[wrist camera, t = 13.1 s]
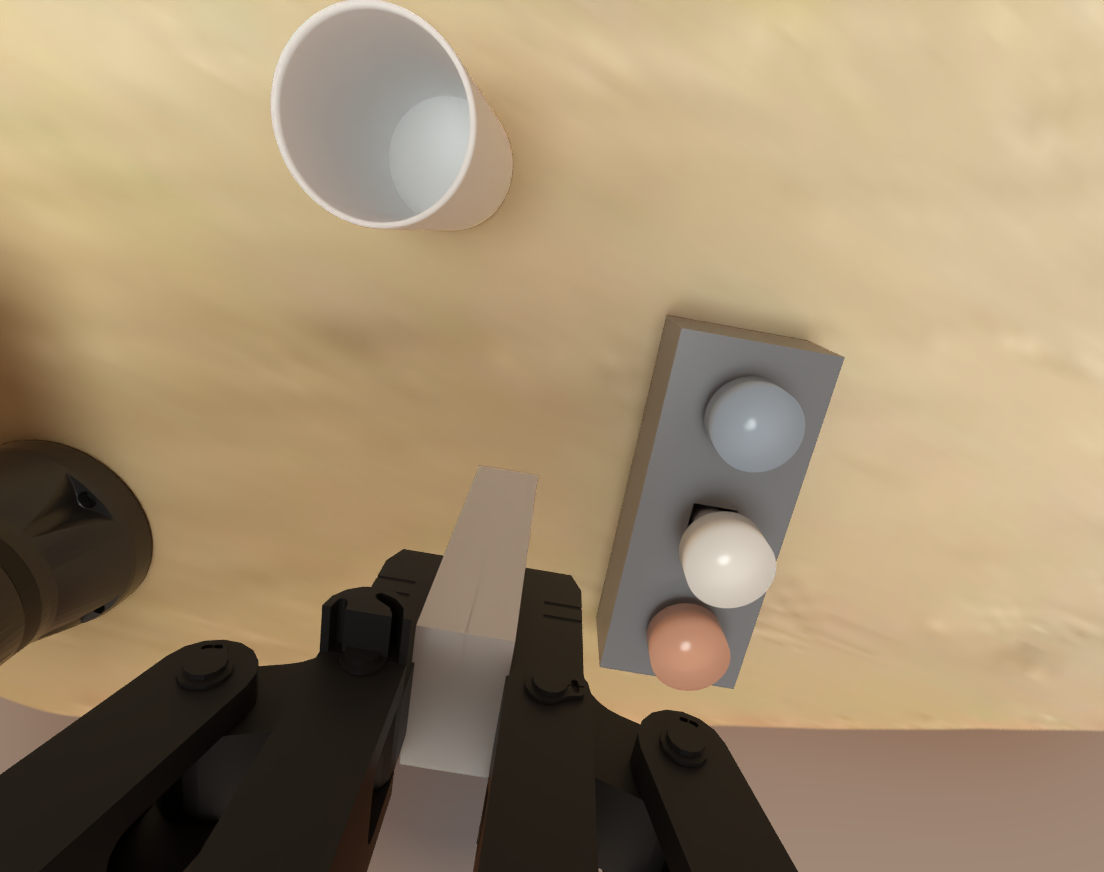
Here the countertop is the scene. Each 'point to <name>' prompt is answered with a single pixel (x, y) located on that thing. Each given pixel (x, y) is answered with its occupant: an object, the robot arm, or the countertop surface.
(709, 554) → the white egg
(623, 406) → the countertop surface
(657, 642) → the terracotta key
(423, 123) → the cup
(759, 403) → the pale blue knob
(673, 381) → the key panel
